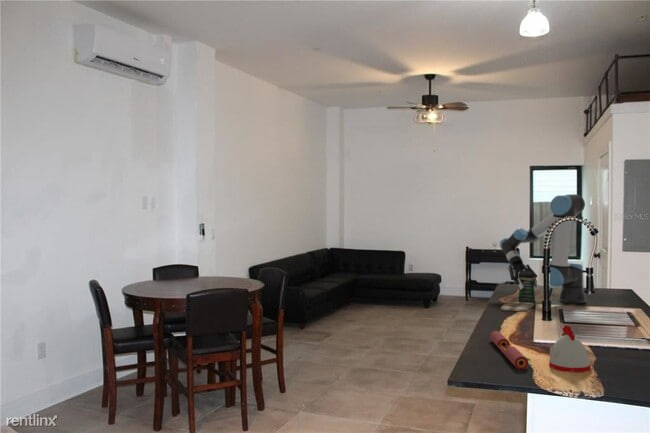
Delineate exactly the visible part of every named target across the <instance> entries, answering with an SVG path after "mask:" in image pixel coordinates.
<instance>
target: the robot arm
mask: <svg viewBox="0 0 650 433" xmlns="http://www.w3.org/2000/svg"><path fill="white" fill-rule="evenodd" d="M585 206H586V201H585V200H584V198H583V196H581V195H580V194H574V193H573V194H571V193H570V194H566V193H565V194H559V195H556V196H554V197H553V198H552V200H551V201H550V207H549V208H550V210H551V212H552V214H550V215H549V216H547V217H546V218H544V219H543V220H542V221H540V222H539V223H536V224H535V225H534V226H533V227H532V228H530V229H528V230H526V229H524V228H522V227H517V229H516V230H514V231H513V233H512V234H511V235H510V236H509V237H504V238H502V239H501V240H500V242H499V246H500V248H501V250H502V251H503V254H504V256H505V257H506V259H507V261H508V262H509V265H508V267H507V270H508V271H509V276H510V280H511V281H513V282H514V283H515V284H516V285H517V286H518V287H519V288H520V289H521V290H522V289H523V285H522V283H521V281H520V279H519V278H518V277H519V272H520V271H530V272H534V274H535V281H534V289H538V288H539V284H538V281H537V278H538V275H537V273H536V272H535V271H534V270H533V268H531V266H530V265H529V264H528V263H527V264H526V265H525V264H524V262H523V259H522V258H521V256H520V254H519V253H518V251H517V248H518V247H519V246H520V245H521V244H527V243H535V242H539V240H540V238H542V236H544V235H546V234H548V232H547V230H548V228H549V227H550V225H551V224H552V223H553V222H555V221H556V220H558V219H560V218H563V217H566V216H575V217H576V216H578V215H579V214H581V213H582V212H583V211H584V210H585ZM572 222H573V220H572V221H566V222H563V223H561V224H559V225H558V226H557V227H556V228H554V234H553V244H552V254H551V260H550V261H549V262H550V270H551V273H550V285H549V286H550V287H552V288H560V287H561V290H560V294H559V296H558V301H559V302H560V303H564V304H565V303H566V304H584V303H585V304H586V303H587V296H586V294H585V291H584V284H583V283H584V280H583V279H584V278H583V277H584V274H583V273H584V269H583V265H582V264H581V263H580V264H579V263H572V262H571V263H570V262H569V250H570V244H571V243H570V242H571V233H572V232H571V231H572V230H571V229H572Z"/></svg>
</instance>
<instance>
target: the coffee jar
mask: <svg viewBox="0 0 650 433" xmlns="http://www.w3.org/2000/svg"><path fill="white" fill-rule="evenodd" d="M534 272H535V271H534ZM534 272H530V271H524V270H523V271H520V272H518V278H519V279H520V281H521V283H522V285H523V289H522V290H521V289H520V288H519V290H518V291H519V292H518V302H524V303H535V302H536V294H535V292H536V291H535V286H534V281H535V274H534ZM518 278H517V279H518Z"/></svg>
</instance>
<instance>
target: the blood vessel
mask: <svg viewBox="0 0 650 433" xmlns="http://www.w3.org/2000/svg"><path fill="white" fill-rule="evenodd" d="M489 337H490V340H491V341H492V342H493V343H494V344H495V345H496V347H497V349H498V350H500V351H501V353H503V354H504V356H505V357H506V358H507V359H508V360H509V361H510V362H511V364H512V365H513V366H514V368H516V369H517V370H526V369H527V368H528V366H529V360H528V358H526V357H525V355H524V354H523V353H522V352H521V351H519V350H518V349H517V348H516V347H515V346H511V344H510V341H509V340H508V339H507V338H506V336H504V335H503V334H502V332H500V331H498V330H493V331H492V332H491V333H490V335H489Z"/></svg>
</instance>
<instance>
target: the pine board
mask: <svg viewBox="0 0 650 433" xmlns="http://www.w3.org/2000/svg"><path fill="white" fill-rule="evenodd" d="M534 304H535V302H532V303H526V302H520V301H508V302H506V303H504V304H503V305H502V306H501V307H500V311H513V312H514V311H516V312H527V311H530V310H531V309H532V306H533V307H534V306H535V305H534Z"/></svg>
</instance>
